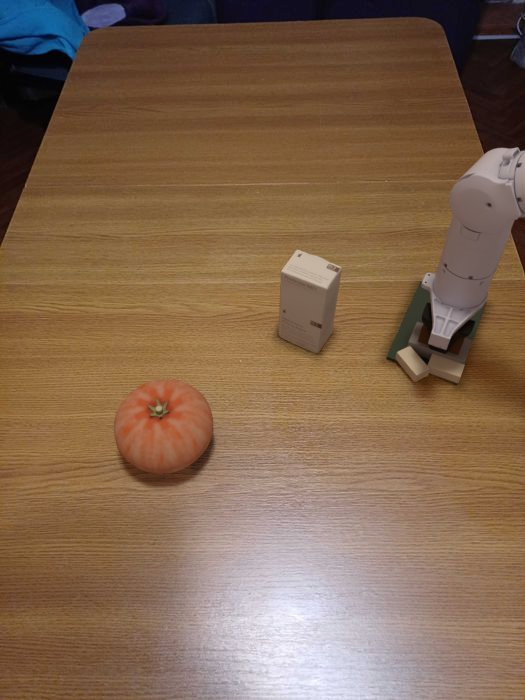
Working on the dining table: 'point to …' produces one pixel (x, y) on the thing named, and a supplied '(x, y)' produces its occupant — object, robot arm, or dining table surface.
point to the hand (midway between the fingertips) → (441, 340)
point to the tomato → (163, 426)
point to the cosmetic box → (308, 300)
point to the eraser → (422, 349)
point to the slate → (415, 316)
